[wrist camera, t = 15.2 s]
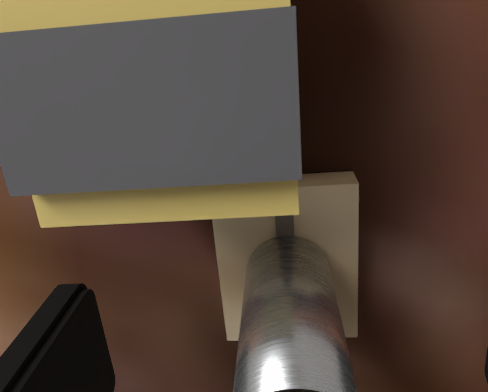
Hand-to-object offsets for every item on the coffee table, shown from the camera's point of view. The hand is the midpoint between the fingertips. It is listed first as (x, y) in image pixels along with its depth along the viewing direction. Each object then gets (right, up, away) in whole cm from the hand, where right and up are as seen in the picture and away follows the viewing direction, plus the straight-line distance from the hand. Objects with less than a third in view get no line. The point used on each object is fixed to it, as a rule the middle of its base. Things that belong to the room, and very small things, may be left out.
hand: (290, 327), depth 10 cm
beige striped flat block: (0, +1, +3) cm, 4 cm away
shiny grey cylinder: (0, +1, +2) cm, 3 cm away
